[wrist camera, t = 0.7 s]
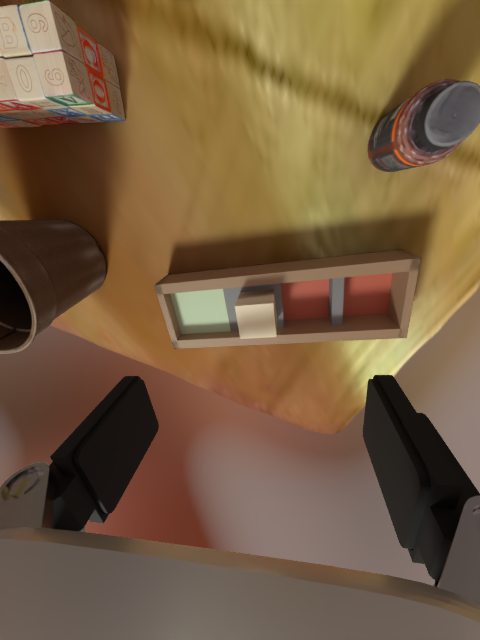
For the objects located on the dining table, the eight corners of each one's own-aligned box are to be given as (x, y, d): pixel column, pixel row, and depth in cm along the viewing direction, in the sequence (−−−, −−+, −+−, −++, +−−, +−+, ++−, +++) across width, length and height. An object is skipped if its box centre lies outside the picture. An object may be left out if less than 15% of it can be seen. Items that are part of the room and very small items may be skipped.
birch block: (240, 292, 37) (234, 306, 32) (274, 289, 36) (273, 303, 31) (244, 322, 39) (240, 338, 34) (276, 320, 38) (276, 337, 33)
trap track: (167, 274, 40) (154, 285, 36) (402, 249, 34) (420, 258, 29) (184, 333, 45) (173, 348, 41) (392, 321, 38) (406, 337, 34)
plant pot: (31, 286, 45) (-82, 330, 31) (17, 190, 37) (-143, 191, 23) (117, 314, 45) (42, 370, 31) (120, 223, 37) (23, 244, 23)
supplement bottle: (414, 171, 30) (482, 161, 20) (361, 173, 30) (401, 164, 20) (430, 107, 27) (519, 58, 17) (372, 111, 28) (423, 66, 18)
